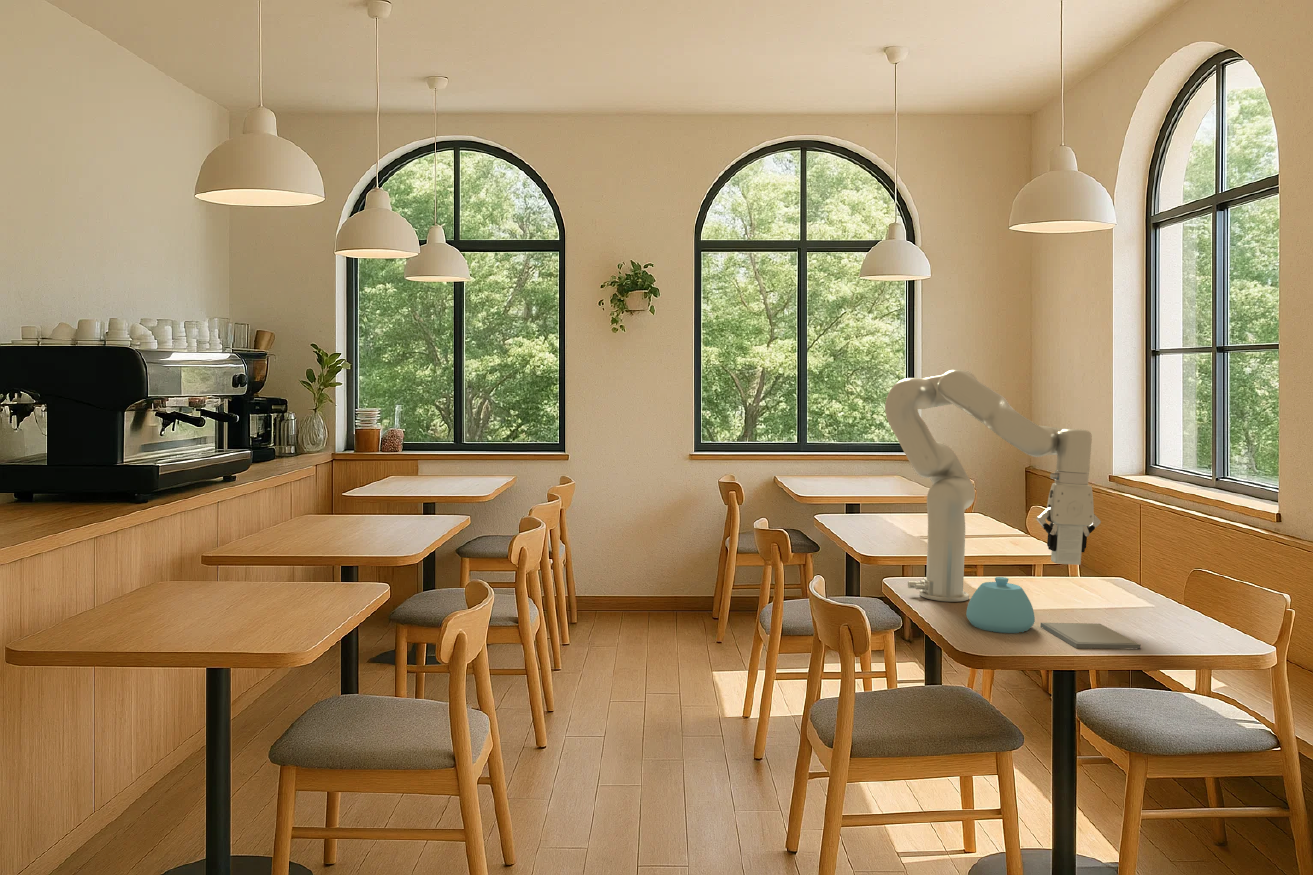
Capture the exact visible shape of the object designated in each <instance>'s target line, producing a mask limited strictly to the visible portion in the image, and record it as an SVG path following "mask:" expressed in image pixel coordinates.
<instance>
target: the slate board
mask: <svg viewBox="0 0 1313 875" xmlns="http://www.w3.org/2000/svg"><path fill="white" fill-rule="evenodd" d="M1042 627H1043V628H1044V629H1043V628H1042ZM1040 628H1042V629H1043V630H1045V631H1047V632H1048V631H1049V632H1048V633H1050V634H1052V635H1054V636H1055V637H1057V638H1058V637H1059V638H1058V639H1059V640H1062V641H1063V642H1065V643H1067V644H1068V645H1070V646H1072V647H1074V649H1092V648H1142V647H1141V644H1140V643H1138V642H1137V641H1134V640H1132V639H1131V638H1129V637H1127V636H1125V635H1123V634H1121V633H1119V632H1117V631H1115V630H1114V629H1112V628H1109V627H1107V626H1105V625H1103V624H1101V623H1094V622H1093V623H1089V622H1088V623H1087V622H1086V623H1085V622H1084V623H1083V622H1082V623H1079V622H1077V623H1076V622H1040Z"/></svg>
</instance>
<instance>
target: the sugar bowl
mask: <svg viewBox="0 0 1313 875" xmlns="http://www.w3.org/2000/svg"><path fill="white" fill-rule="evenodd" d="M994 580H995V581H986V582H983V583H981V584H980V585H979V586H978V588H977V589H976V590H975V591H974V593H973V594H972V596H971V598H969V601H968V603H967V608H966V618H967V620H968V621H969V623H971V625H972V626H973V627H975V628H977V629H980V630H984V631H988V632H992V631H993V633H1000V634H1020V633H1019V632H1022V633H1025V632H1024V631H1026V632H1027V631H1029V630H1030V629H1031V628H1032V627H1033V626H1034V624H1035V623H1036V620H1035V618H1036V617H1035V612H1034V607H1033V604H1032V602H1031V600H1030V599H1029V597H1028V595H1027V594H1026V591H1025V590H1024V589H1023V588H1022V586H1020V585H1018V584H1014V583H1011V582H1009V578H1008V577H1005V576H996V577H994Z"/></svg>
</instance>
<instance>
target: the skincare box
mask: <svg viewBox="0 0 1313 875" xmlns="http://www.w3.org/2000/svg"><path fill="white" fill-rule="evenodd" d="M1056 535H1057V549H1056V551H1052V550H1051V554H1050V555H1051V556H1050V560H1051V562H1053V563H1054V564H1056V565H1057V564H1058V565H1059V564H1060V565H1073V566H1074V565H1076V566H1077V565H1078V566H1080V565H1082V564H1081V563H1082V552H1081V551H1082V537H1083V526H1071V525H1058V530H1057V531H1056Z"/></svg>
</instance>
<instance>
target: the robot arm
mask: <svg viewBox="0 0 1313 875" xmlns="http://www.w3.org/2000/svg"><path fill="white" fill-rule="evenodd" d="M948 405H953V406H955V407H957V408H958V409H960V410H961V411H963V412H965V414H967V415H969V416H970V417H971V418H974V419H975V420H977V421H978V422H980V423H982V424H983V425H984V426H985V427H987V429H989V430H990V431H991V432H993V433H995V435H997V436H998V437H1000V438H1001V439H1002V440H1004V441H1005V442H1007V443H1008V444H1010V445H1012V446H1013V447H1015V448H1016V449H1018V450H1019V451H1021V452H1022V453H1024V454H1025V455H1028V456H1030V457H1034V458H1041V457H1045V456H1056V463H1055V464H1056V465H1055V471H1054V473H1053V472H1051V473H1050V475H1049V478H1050V479H1052V480H1053V481H1054V482H1052V484H1051V486H1050V489H1049V493H1048V498H1047V504H1046V508H1045V510H1044V511H1042V512H1041V513H1040V514H1039V515H1037V517H1036V518H1035V519H1036V521H1037V522H1038V523H1039V525H1041V528H1042V529H1044V531H1045V532H1046V533H1047V541H1046V542H1047V543H1046V545H1047V547H1048V548H1047V549H1048V550H1049V551H1051V552H1052V551H1056V549H1057V535H1056V531H1057V530H1058V525H1071V526H1083V537H1082V551H1081V553H1085V550H1086V549H1087V542H1088V537H1089V536H1090V534H1091V533H1092V532H1094V531H1095V529H1096V528H1097V527H1099V526H1100V525H1101V523H1102V520H1100V518H1098V516H1097V515H1096V514H1095V513H1094V511H1095V510H1094V508H1095V507H1094V495H1093V494H1094V493H1093V487H1092V485H1089V478H1090V464H1091V454H1092V452H1091V451H1092V443H1093V442H1092V440H1093V438H1092V437H1093V435H1092V433H1091V431H1090V430H1087V429H1083V428H1082V429H1079V428H1058V427H1054V426H1049V425H1039V424H1037V423H1035V422H1033V421H1032V420H1031V419H1029V418H1027V417H1025V416H1024V415H1022V414H1021V413H1020V412H1018V411H1017V410H1016V409H1015V408H1013V407H1012V406H1011V405H1010V403H1009V402H1008V399H1006V398H1005V397H1004V396H1003V395H1002V394H1000V393H998V392H997V391H995V390H993V389H992V388H990V387H989V386H987V385H985V384H984V383H982V382H981V381H979V380H978V379H977V377H976V375H975V374H973V372H971V371H968V370H964V369H963V370H962V369H950V370H948V371H946V372H944V373H943V374H941V375H935V376H930V377H929V376H928V377H924V378H923V377H922V378H919V377H907V378H903V379H900V380H899V381H897V382H896V383H895V384H894V385H893V386H892V388H891V389H890V390H889V392H888V394H887V396H886V399H885V407H884V408H885V410H884V412H885V415H886V416H885V417H886V419H887V422H888V424H889V425H890V426H889V427H890V428H891V430H892V432H893V434H894V435H895V437H896V439H897V441H898V443H899V445H900V447H901V449H902V451H903V453H904V455H905V456H906V459H907V460H908V462H909V463H910V465H911V467H912V470H913V471H914V472H915V473H916V474H917V475H918V476H919V477H921V478H924V479H930V481H931V483H932V485H931V486H930V487H929V489H928V492H927V494H926V511H927V544H926V545H927V552H926V575H925V577H922V580H921V579H920V580H919V581H916V580H911V581H910V580H908V581H907V588H908V589H915V590H919V596H920V597H922V598H924V599H927V600H932V601H937V602H946V603H947V602H950V603H952V602H953V603H954V602H956V603H957V602H958V603H959V602H966V601H968V600H970V594H969V592H966V591H964V581H965V580H964V577H965V575H964V574H965V571H964V570H965V555H966V554H965V550H966V548H965V547H966V517H965V510H967V509H969V508H970V507H971V506H972V505H973V503H974V502H975V498H976V490H975V487H974V484H973V482H972V480H971V479H970V477H969V475H968V473H967V472H966V470H965V468H964V466H963V464H962V463H961V461H960V459H959V458H958V456H957V454H956V452H955V451H954V450H953V448H951V447H950V445H948V444H946V443H944V442H941V441H937V440H936V439H935V438H934V436H933V434H932V433H931V431H930V429H929V426H928V425H927V423H926V422H925V421H924V420H923V418H922V417H921V415H920V413H919V410H925V409H931V408H932V409H933V408H938V407H945V406H948ZM1046 520H1047V521H1048V522H1049V523H1048V522H1046Z"/></svg>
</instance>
